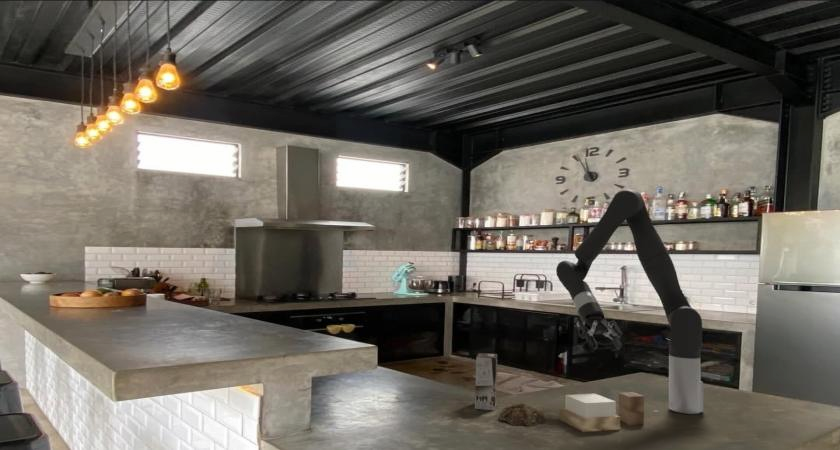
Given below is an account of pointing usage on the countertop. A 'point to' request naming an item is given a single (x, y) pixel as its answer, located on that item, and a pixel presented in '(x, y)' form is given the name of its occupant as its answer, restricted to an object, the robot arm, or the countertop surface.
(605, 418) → the tower base
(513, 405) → the bread roll
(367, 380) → the countertop surface
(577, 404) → the tower top
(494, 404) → the coffee box
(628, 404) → the walnut block
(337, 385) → the countertop surface
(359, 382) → the countertop surface
